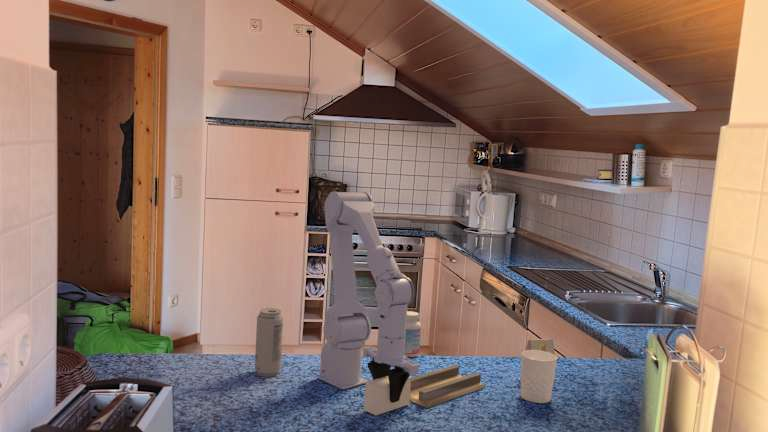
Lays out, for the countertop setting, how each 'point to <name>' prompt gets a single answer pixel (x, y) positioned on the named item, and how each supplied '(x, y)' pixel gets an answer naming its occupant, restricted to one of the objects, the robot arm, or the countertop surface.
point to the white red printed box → (541, 345)
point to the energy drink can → (268, 342)
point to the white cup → (537, 375)
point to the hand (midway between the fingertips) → (387, 398)
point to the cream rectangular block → (384, 396)
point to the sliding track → (442, 386)
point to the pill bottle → (412, 335)
